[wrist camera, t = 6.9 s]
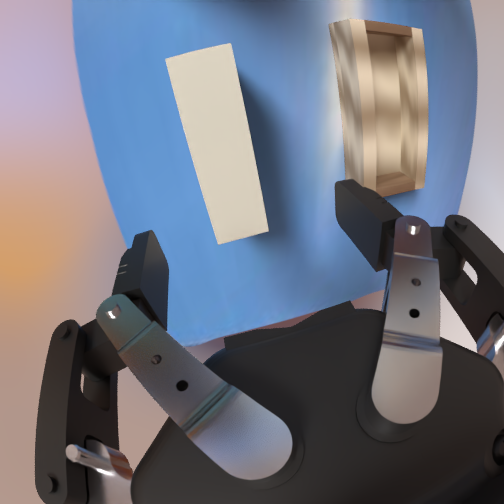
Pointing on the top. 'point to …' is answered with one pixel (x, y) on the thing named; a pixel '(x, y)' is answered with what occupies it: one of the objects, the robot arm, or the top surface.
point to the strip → (219, 140)
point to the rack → (382, 103)
